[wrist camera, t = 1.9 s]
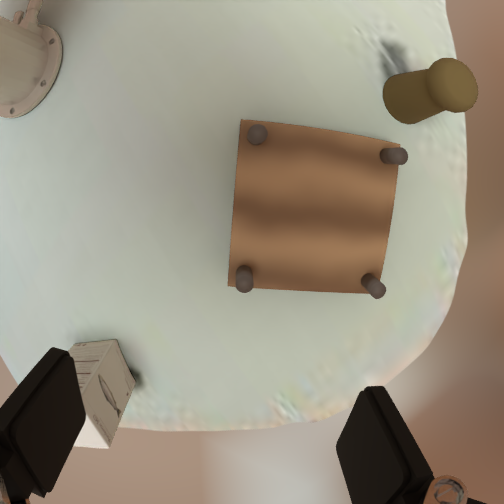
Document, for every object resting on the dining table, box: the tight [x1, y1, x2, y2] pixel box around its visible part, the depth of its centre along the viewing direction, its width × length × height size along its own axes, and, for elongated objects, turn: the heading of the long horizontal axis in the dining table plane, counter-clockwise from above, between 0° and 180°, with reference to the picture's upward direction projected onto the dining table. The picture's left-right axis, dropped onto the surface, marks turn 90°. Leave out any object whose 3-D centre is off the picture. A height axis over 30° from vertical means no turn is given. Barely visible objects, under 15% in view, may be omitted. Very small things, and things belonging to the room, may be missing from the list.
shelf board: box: [228, 119, 408, 299], centre depth 29 cm, size 16×16×6 cm
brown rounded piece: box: [383, 58, 478, 124], centre depth 24 cm, size 6×6×11 cm
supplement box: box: [68, 340, 136, 448], centre depth 31 cm, size 7×7×13 cm
